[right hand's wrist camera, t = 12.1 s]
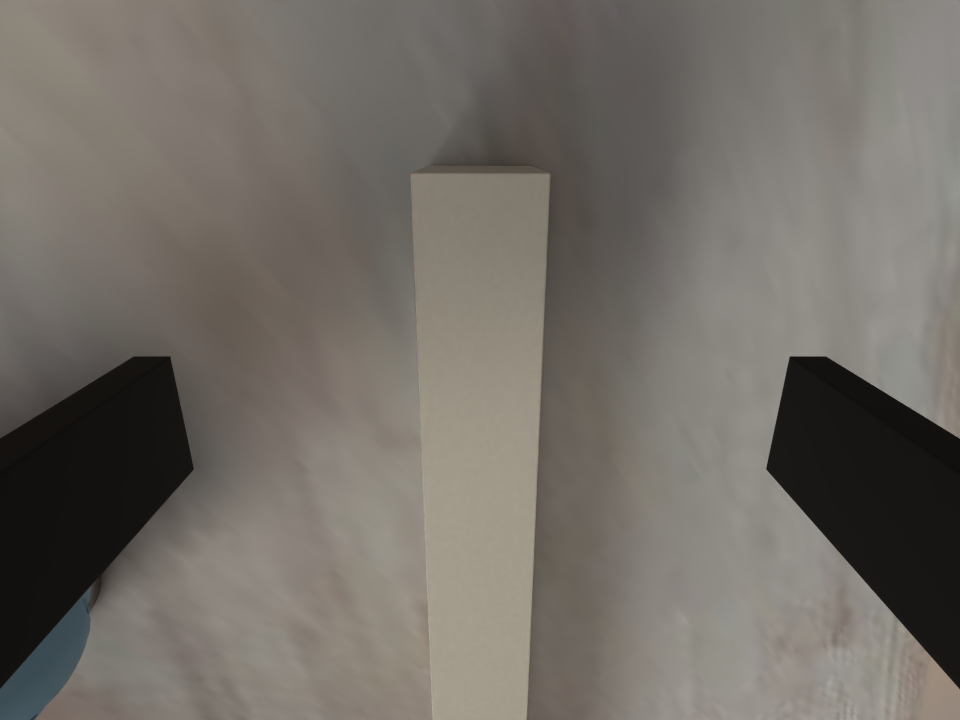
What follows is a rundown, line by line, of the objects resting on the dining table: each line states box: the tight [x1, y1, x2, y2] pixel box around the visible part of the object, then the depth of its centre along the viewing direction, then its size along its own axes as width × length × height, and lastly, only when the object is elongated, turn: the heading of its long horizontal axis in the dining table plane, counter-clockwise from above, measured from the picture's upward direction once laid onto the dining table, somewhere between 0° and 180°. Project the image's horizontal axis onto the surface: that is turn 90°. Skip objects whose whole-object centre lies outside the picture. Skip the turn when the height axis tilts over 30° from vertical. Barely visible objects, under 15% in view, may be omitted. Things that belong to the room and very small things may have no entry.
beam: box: [410, 166, 551, 720], centre depth 37 cm, size 54×6×9 cm, turn 0°
